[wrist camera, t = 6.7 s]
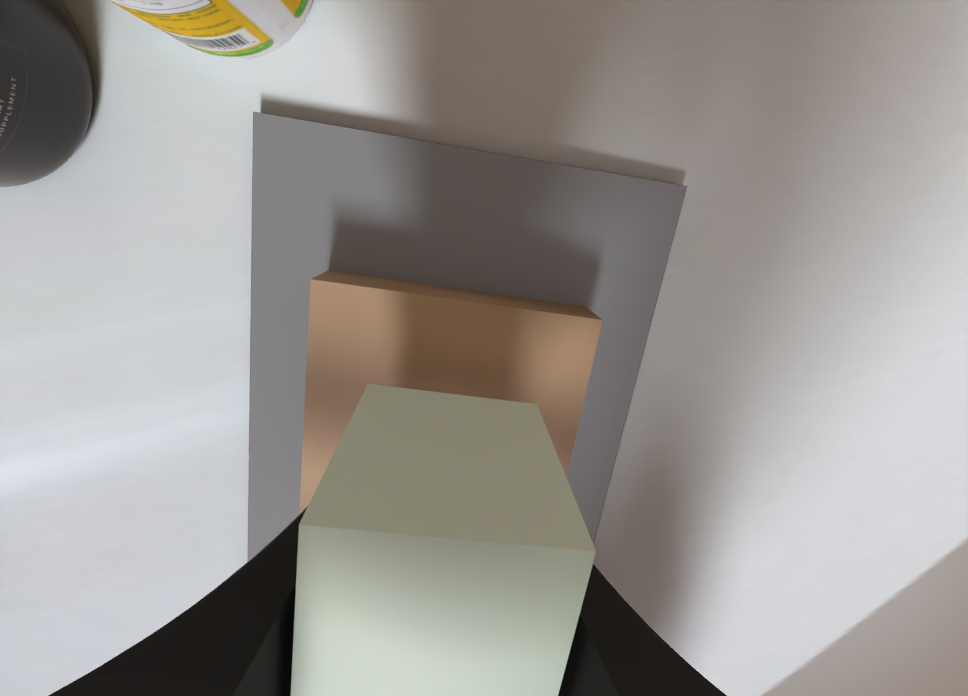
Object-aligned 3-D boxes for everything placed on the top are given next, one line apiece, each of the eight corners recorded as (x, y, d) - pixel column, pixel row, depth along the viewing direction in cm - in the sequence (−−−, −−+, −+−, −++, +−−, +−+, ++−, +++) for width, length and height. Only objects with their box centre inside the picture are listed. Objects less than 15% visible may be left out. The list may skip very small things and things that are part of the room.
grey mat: (572, 602, 21) (575, 611, 21) (252, 577, 20) (247, 586, 19) (680, 186, 16) (686, 186, 16) (259, 114, 15) (253, 111, 14)
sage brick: (497, 603, 13) (520, 836, 8) (349, 592, 13) (283, 829, 8) (537, 404, 11) (596, 551, 6) (367, 383, 11) (298, 524, 6)
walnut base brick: (539, 520, 19) (548, 555, 17) (314, 498, 18) (298, 533, 17) (586, 306, 17) (602, 320, 15) (328, 269, 16) (310, 279, 14)
